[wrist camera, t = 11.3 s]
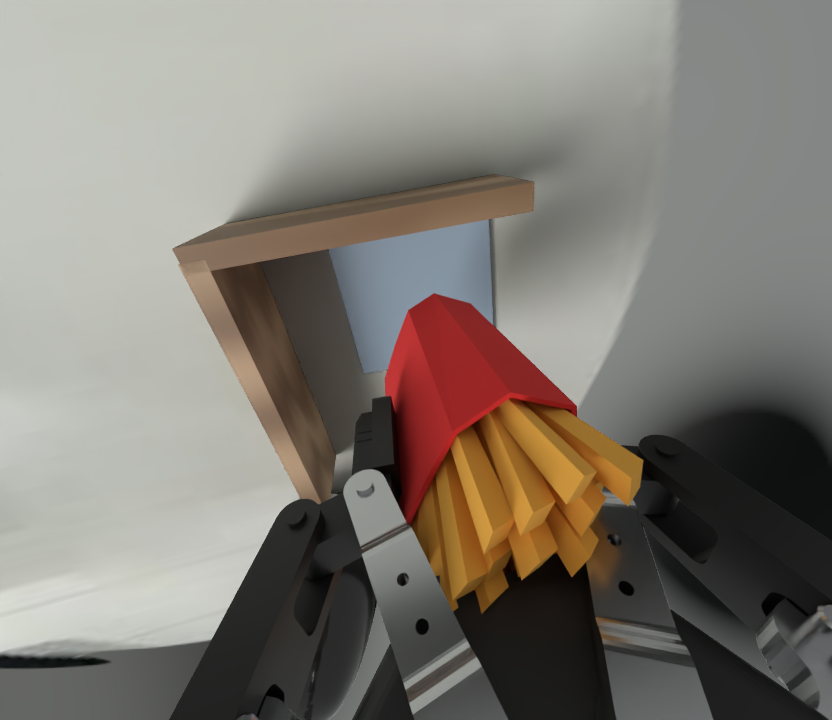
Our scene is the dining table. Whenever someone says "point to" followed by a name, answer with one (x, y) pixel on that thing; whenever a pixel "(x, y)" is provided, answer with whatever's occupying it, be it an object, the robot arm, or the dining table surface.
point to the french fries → (493, 454)
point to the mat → (409, 282)
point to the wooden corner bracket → (258, 314)
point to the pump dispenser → (340, 644)
